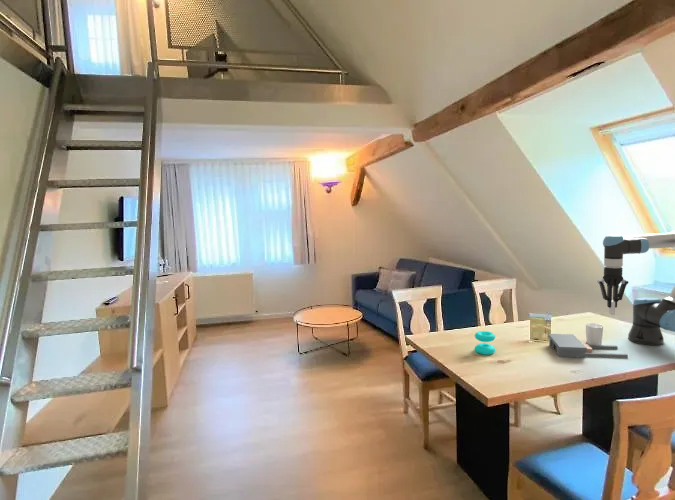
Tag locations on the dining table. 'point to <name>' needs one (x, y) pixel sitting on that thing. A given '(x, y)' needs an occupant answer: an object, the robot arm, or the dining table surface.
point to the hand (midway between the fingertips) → (611, 313)
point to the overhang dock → (578, 347)
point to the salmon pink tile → (588, 348)
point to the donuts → (483, 347)
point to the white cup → (594, 333)
